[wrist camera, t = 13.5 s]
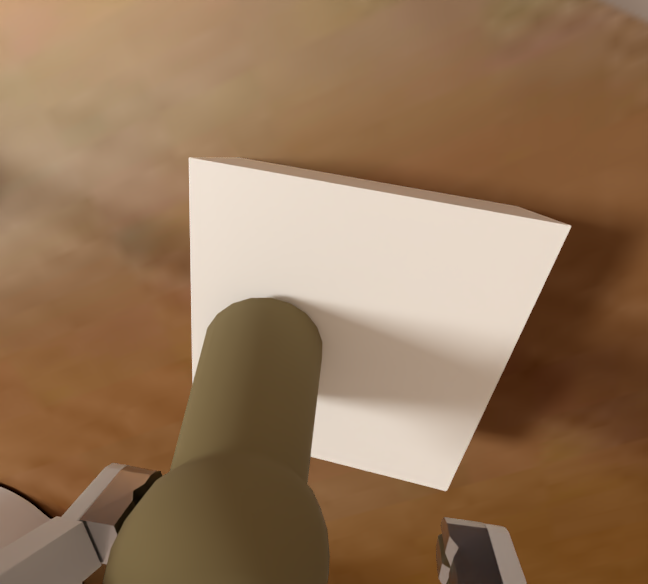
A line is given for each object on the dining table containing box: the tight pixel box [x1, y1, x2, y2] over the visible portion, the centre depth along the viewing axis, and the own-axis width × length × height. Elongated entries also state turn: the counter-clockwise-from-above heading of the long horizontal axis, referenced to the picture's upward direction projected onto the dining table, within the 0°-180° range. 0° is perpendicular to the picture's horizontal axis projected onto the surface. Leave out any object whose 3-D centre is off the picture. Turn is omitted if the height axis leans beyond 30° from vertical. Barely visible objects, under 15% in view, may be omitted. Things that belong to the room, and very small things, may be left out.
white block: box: [189, 157, 571, 491], centre depth 19 cm, size 16×16×6 cm
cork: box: [103, 298, 330, 584], centre depth 11 cm, size 6×6×11 cm
